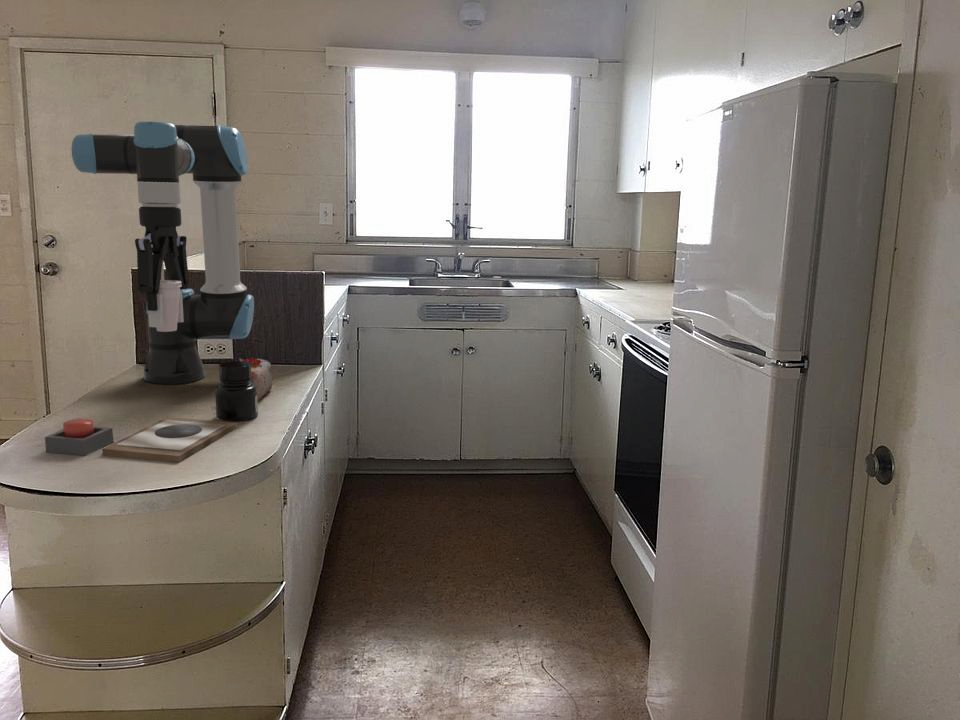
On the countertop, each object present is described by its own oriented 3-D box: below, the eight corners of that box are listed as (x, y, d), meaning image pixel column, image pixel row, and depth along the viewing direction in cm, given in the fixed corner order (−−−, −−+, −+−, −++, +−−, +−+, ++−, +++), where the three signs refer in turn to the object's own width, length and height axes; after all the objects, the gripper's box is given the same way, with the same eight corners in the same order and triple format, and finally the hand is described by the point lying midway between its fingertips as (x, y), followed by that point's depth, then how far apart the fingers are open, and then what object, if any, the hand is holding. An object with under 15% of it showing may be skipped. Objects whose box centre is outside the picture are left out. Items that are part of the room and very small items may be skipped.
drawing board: (168, 422, 172) (167, 415, 172) (236, 428, 169) (236, 421, 169) (102, 454, 151) (102, 447, 151) (179, 462, 148) (179, 454, 148)
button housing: (75, 438, 160) (74, 424, 159) (113, 442, 158) (112, 427, 158) (46, 451, 152) (44, 436, 151) (85, 455, 150) (84, 440, 150)
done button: (76, 429, 157) (75, 417, 157) (100, 431, 157) (99, 419, 156) (58, 437, 152) (57, 425, 152) (82, 439, 152) (81, 427, 151)
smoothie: (173, 326, 162) (170, 257, 159) (190, 330, 158) (187, 259, 155) (143, 330, 157) (139, 258, 155) (159, 333, 153) (155, 261, 151)
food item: (259, 405, 187) (257, 364, 185) (225, 404, 187) (223, 363, 185) (274, 391, 201) (273, 352, 199) (243, 390, 201) (241, 352, 199)
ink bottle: (267, 416, 179) (265, 364, 176) (236, 425, 171) (233, 371, 169) (238, 408, 184) (236, 358, 181) (206, 417, 177) (204, 364, 174)
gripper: (170, 204, 163) (177, 316, 167) (110, 205, 144) (119, 331, 149) (204, 205, 161) (209, 318, 166) (147, 206, 143) (155, 333, 148)
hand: (166, 324), depth 157 cm, fingers closed on smoothie, 6 cm apart
